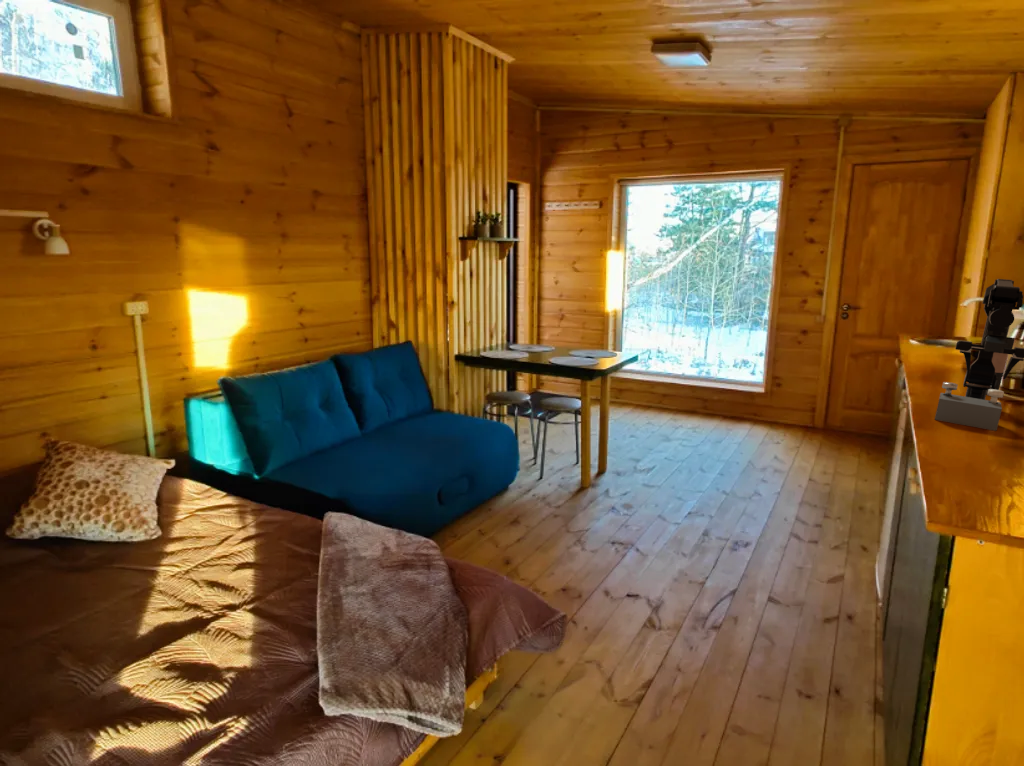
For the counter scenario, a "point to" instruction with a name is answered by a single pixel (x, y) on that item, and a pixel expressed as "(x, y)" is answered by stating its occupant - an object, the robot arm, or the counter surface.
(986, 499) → the counter surface
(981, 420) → the console
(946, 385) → the grey knob
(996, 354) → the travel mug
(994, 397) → the cream knob
